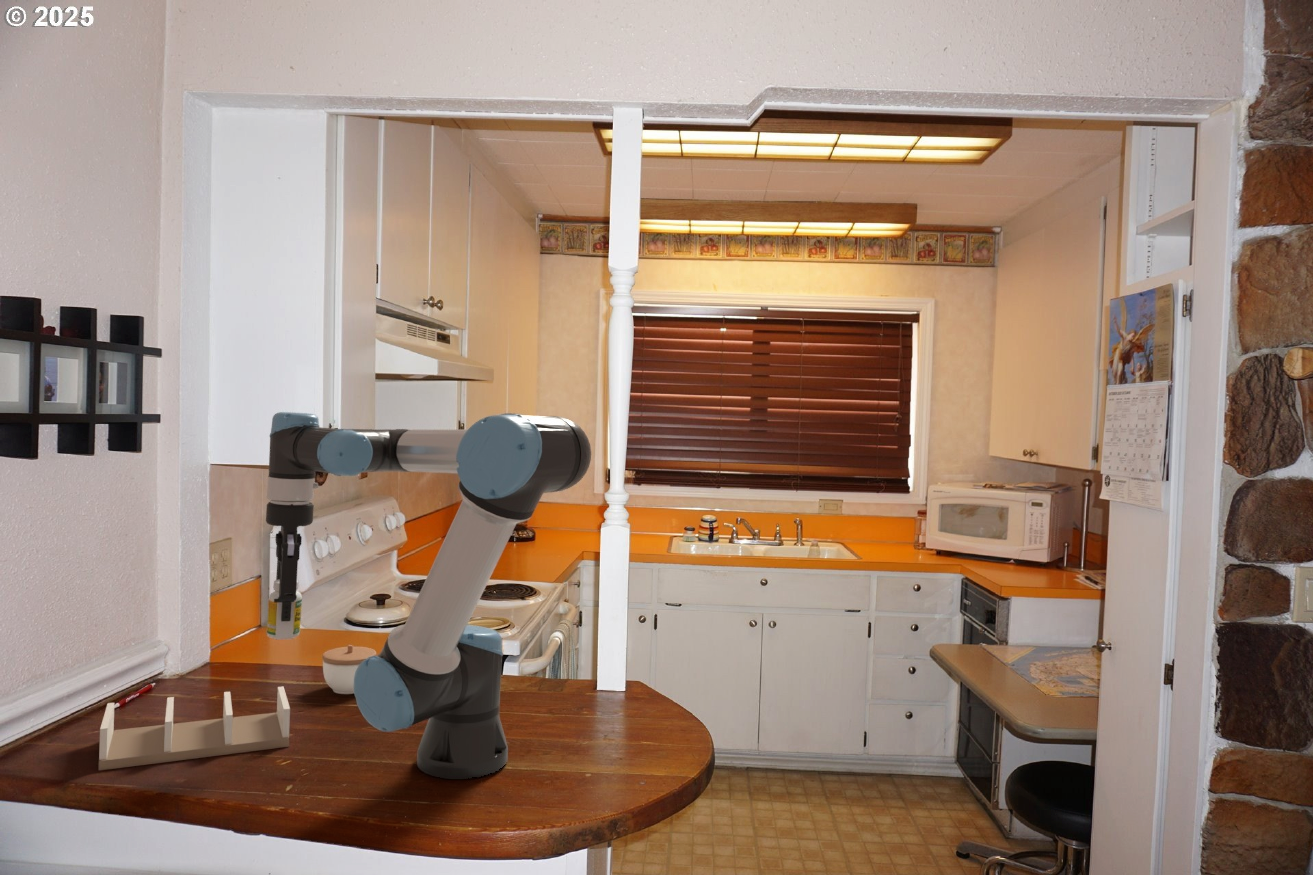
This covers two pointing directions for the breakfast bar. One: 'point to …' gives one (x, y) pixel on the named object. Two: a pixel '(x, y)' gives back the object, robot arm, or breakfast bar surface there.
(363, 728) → the breakfast bar surface
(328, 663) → the lidded jar
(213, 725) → the rack
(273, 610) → the supplement bottle
